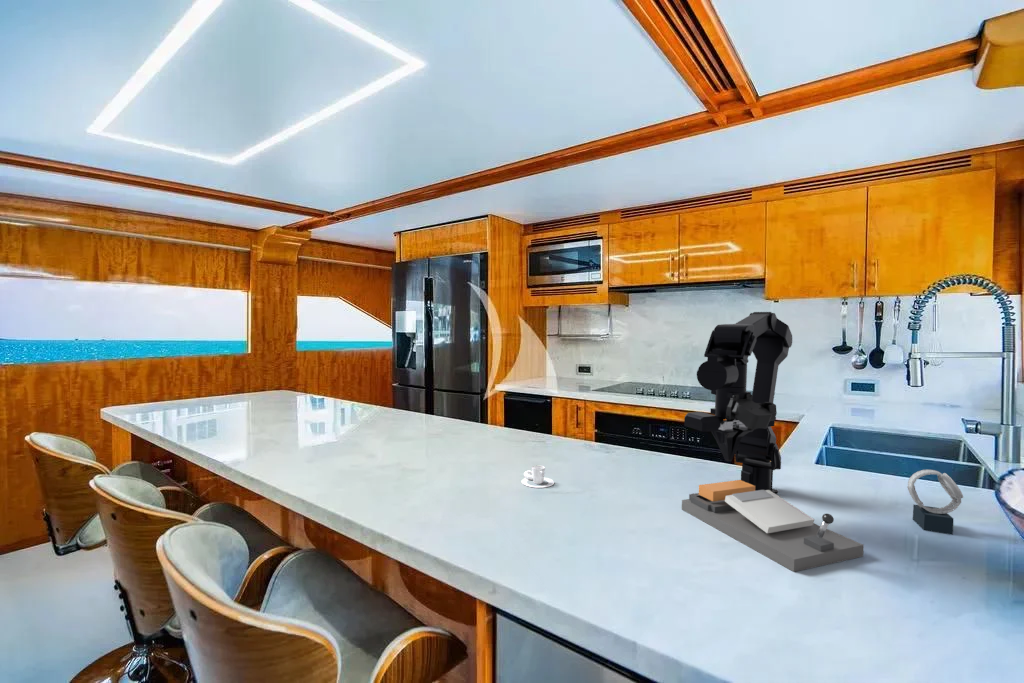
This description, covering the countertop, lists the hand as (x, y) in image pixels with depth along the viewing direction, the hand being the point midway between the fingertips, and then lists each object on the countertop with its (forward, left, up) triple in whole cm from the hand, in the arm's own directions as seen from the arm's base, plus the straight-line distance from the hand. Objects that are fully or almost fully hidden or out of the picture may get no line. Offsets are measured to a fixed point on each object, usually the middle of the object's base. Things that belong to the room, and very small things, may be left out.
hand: (728, 460), depth 97 cm
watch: (-34, +18, -11) cm, 40 cm away
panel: (0, +9, -11) cm, 14 cm away
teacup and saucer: (+28, -30, -11) cm, 43 cm away
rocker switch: (0, +10, -7) cm, 12 cm away
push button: (0, 0, -7) cm, 7 cm away
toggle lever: (0, +20, -7) cm, 21 cm away
